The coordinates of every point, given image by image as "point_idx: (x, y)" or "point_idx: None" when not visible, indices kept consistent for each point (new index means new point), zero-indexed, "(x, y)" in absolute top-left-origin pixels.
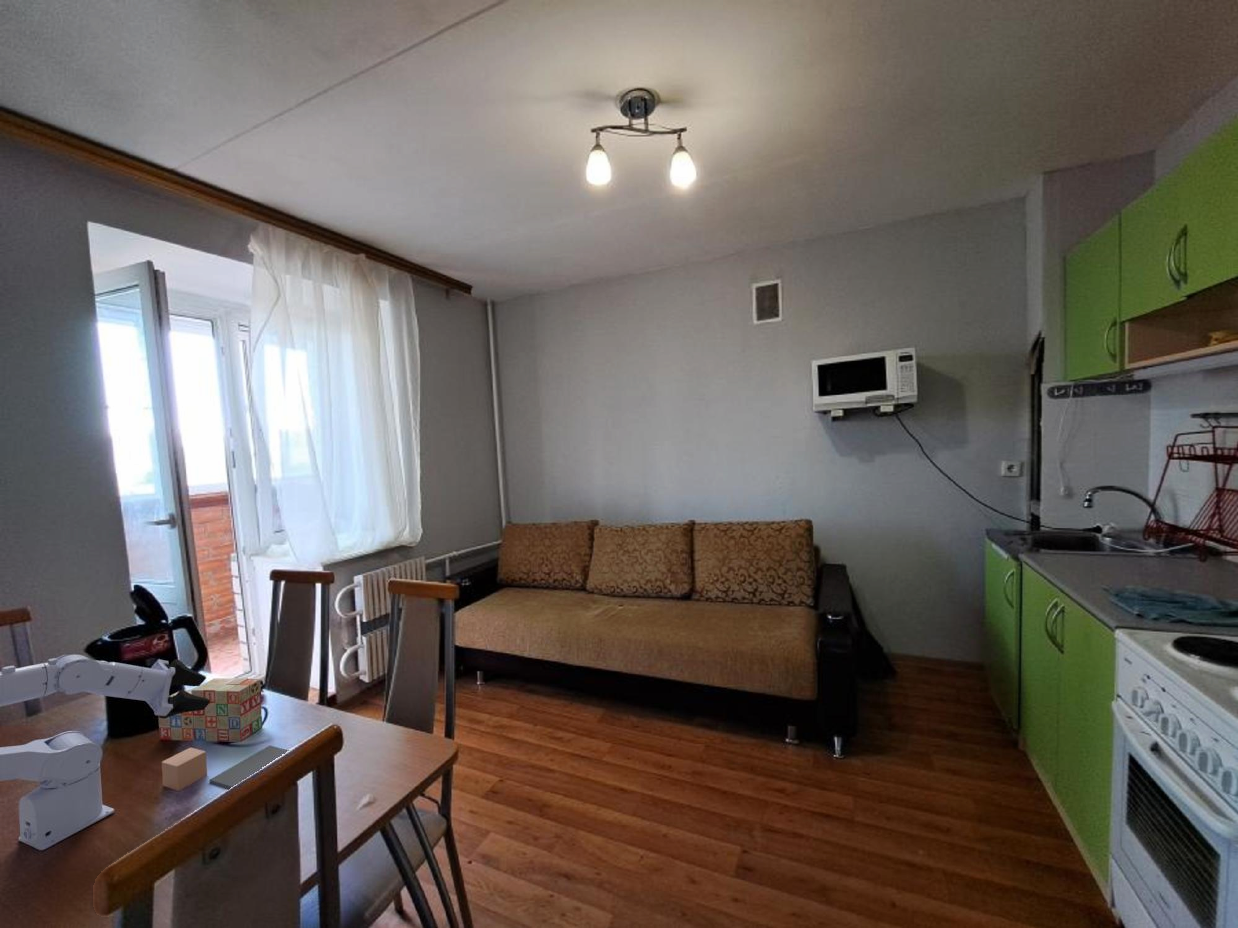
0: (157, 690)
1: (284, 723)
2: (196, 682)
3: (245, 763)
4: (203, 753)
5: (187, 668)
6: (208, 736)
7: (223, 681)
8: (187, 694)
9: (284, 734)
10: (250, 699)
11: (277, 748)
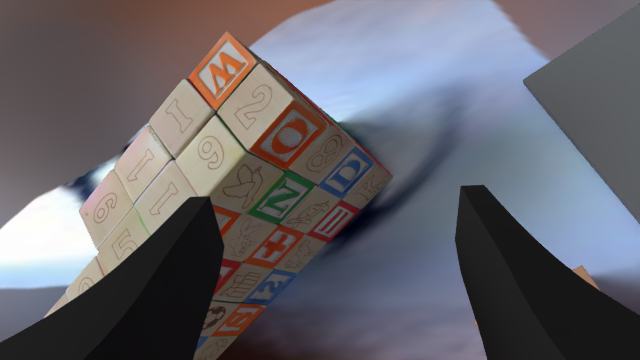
0: None
1: (365, 61)
2: (210, 256)
3: (624, 147)
4: (587, 274)
5: (100, 298)
6: (296, 265)
7: (136, 173)
8: (584, 322)
9: (450, 51)
10: (299, 93)
11: (576, 51)
